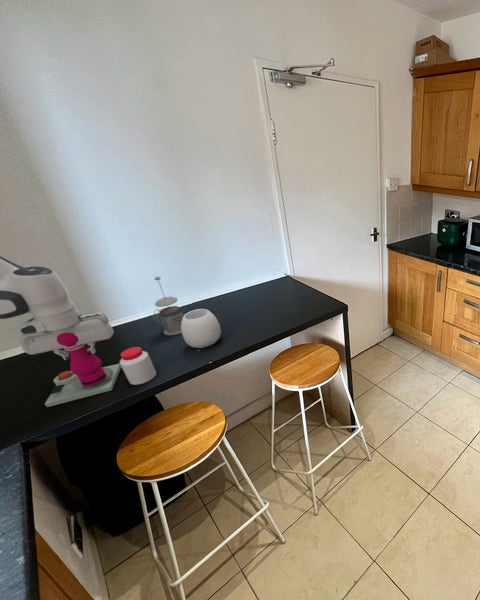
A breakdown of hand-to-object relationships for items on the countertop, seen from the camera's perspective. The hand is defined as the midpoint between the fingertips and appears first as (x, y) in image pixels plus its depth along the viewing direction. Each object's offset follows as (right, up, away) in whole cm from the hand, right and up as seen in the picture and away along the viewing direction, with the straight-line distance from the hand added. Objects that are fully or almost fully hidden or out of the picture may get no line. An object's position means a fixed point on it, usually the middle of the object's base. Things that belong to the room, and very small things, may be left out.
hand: (80, 355), depth 100 cm
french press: (+4, +5, +36) cm, 37 cm away
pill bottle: (+13, -9, +9) cm, 18 cm away
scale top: (-2, -9, +3) cm, 9 cm away
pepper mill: (0, -8, +4) cm, 9 cm away
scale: (-3, -11, +5) cm, 13 cm away
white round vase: (+23, 0, +28) cm, 36 cm away
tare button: (-10, -8, +5) cm, 14 cm away
